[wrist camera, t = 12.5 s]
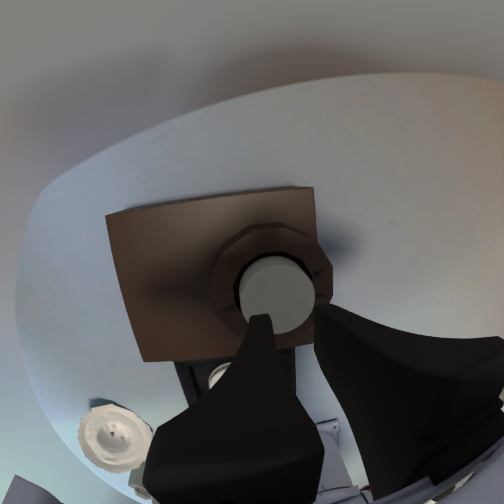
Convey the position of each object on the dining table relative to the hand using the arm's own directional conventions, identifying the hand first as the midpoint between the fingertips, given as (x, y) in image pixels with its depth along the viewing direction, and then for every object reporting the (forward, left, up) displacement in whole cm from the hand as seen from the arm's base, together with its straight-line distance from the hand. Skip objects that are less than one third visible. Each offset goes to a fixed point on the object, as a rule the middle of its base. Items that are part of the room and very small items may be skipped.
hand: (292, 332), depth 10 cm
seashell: (-16, +17, -10) cm, 26 cm away
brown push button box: (0, +3, -10) cm, 11 cm away
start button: (0, 0, -5) cm, 5 cm away
